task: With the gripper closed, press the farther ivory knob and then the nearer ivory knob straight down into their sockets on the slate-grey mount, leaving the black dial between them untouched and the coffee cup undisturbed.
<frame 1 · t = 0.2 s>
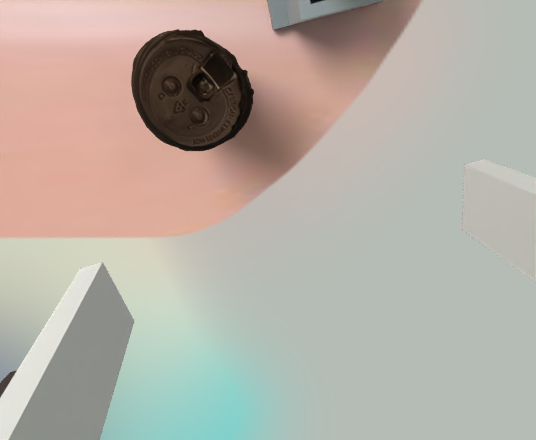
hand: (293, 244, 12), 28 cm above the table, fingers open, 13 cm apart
coffee cup: (199, 83, 35), on the table
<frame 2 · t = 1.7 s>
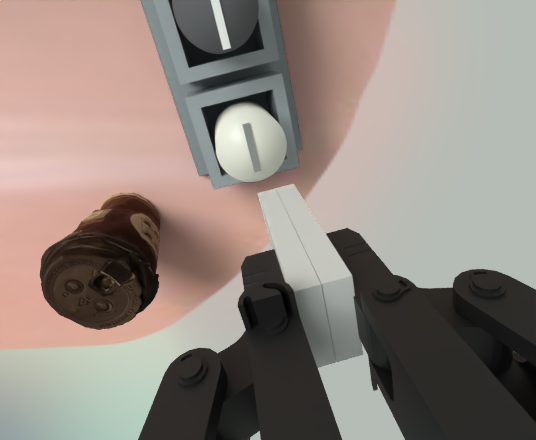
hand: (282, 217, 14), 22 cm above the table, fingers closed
coffee cup: (131, 219, 37), on the table
black dial: (215, 11, 23), point 7 cm above the table, slide at 0.0 cm
mount: (214, 21, 30), on the table
knob 1: (247, 139, 27), point 7 cm above the table, slide at 0.0 cm
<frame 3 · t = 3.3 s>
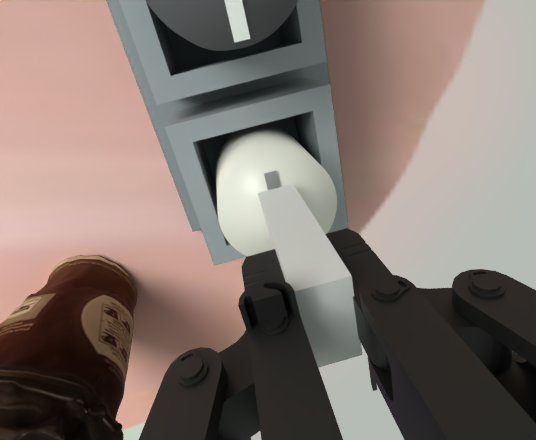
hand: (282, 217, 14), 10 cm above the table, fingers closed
coffee cup: (96, 288, 26), on the table
knob 1: (268, 187, 17), point 6 cm above the table, slide at 1.1 cm, touching gripper
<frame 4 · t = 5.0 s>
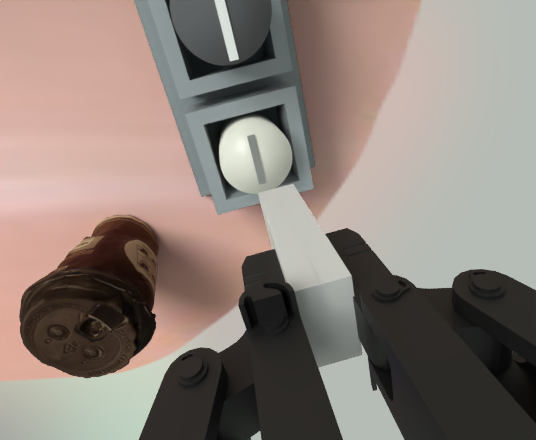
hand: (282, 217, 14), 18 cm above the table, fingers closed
coffee cup: (127, 242, 34), on the table
black dial: (220, 16, 20), point 7 cm above the table, slide at 0.0 cm
mount: (218, 26, 27), on the table
knob 1: (252, 149, 27), point 4 cm above the table, slide at 3.0 cm
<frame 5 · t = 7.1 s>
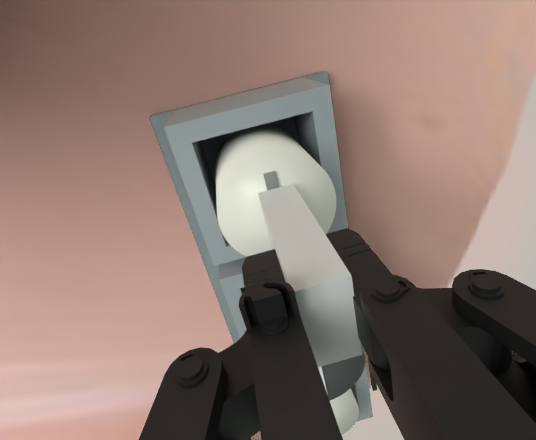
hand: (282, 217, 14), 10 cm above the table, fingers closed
black dial: (303, 330, 20), point 7 cm above the table, slide at 0.0 cm
mount: (280, 262, 27), on the table
knob 1: (313, 384, 27), point 4 cm above the table, slide at 3.0 cm
knob 2: (267, 187, 17), point 6 cm above the table, slide at 1.2 cm, touching gripper
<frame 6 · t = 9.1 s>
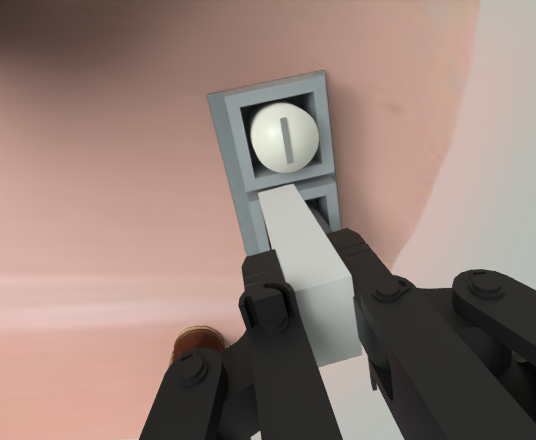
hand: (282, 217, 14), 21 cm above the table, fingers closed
coffee cup: (200, 343, 44), on the table
black dial: (302, 239, 31), point 7 cm above the table, slide at 0.0 cm
mount: (287, 207, 37), on the table
knob 2: (280, 133, 29), point 4 cm above the table, slide at 3.0 cm
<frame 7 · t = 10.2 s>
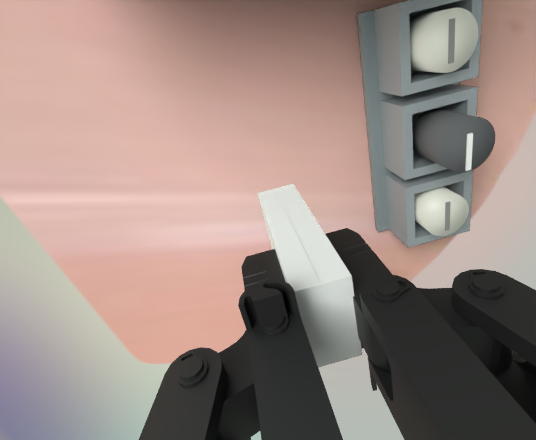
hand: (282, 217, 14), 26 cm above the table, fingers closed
black dial: (449, 139, 35), point 7 cm above the table, slide at 0.0 cm
mount: (411, 125, 41), on the table
knob 1: (432, 206, 41), point 4 cm above the table, slide at 3.0 cm
knob 2: (432, 42, 33), point 4 cm above the table, slide at 3.0 cm
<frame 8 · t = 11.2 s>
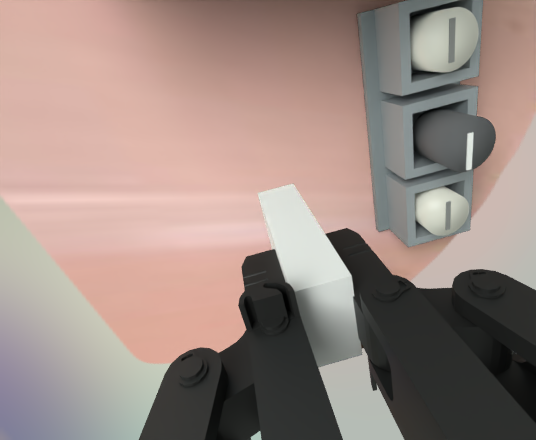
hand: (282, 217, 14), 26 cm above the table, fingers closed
black dial: (449, 138, 35), point 7 cm above the table, slide at 0.0 cm
mount: (411, 125, 41), on the table
knob 1: (432, 205, 41), point 4 cm above the table, slide at 3.0 cm
knob 2: (432, 42, 33), point 4 cm above the table, slide at 3.0 cm
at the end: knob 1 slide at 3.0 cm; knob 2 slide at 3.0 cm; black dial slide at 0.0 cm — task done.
